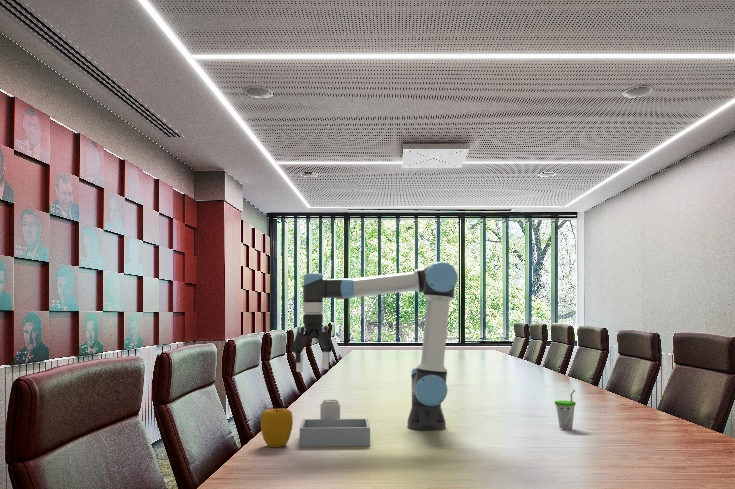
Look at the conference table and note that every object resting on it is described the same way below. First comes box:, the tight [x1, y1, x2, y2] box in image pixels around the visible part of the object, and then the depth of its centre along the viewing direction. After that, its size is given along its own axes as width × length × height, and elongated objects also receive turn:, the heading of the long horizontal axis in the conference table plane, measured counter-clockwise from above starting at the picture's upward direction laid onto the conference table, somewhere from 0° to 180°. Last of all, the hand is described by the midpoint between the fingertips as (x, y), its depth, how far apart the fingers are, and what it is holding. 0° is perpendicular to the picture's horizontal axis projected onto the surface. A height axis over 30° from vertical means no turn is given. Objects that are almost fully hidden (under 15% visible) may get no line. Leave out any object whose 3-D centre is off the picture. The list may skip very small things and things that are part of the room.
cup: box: [554, 389, 577, 430], centre depth 241 cm, size 8×8×15 cm
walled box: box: [298, 418, 371, 447], centre depth 218 cm, size 24×18×6 cm
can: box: [319, 399, 341, 419], centre depth 233 cm, size 8×8×12 cm
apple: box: [260, 407, 294, 448], centre depth 210 cm, size 11×11×13 cm
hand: (312, 370), depth 233 cm, fingers open, 13 cm apart
